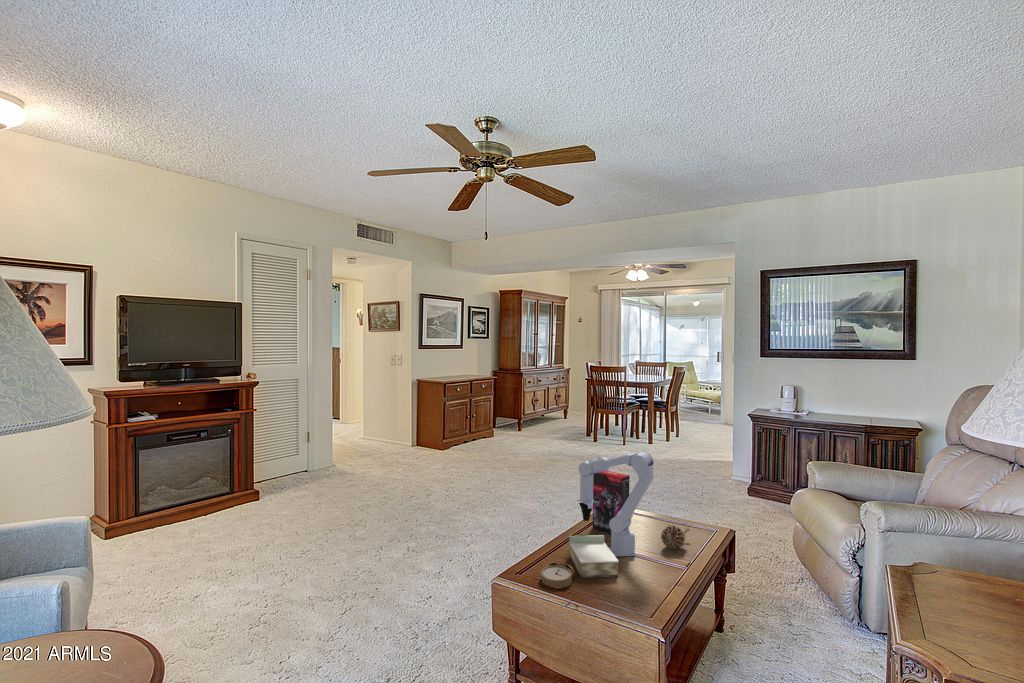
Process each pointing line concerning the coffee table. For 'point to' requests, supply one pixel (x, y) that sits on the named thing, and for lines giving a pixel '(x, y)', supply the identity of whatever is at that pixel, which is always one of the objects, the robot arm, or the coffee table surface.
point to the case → (594, 568)
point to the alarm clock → (557, 575)
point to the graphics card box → (608, 497)
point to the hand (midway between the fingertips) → (586, 520)
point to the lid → (591, 549)
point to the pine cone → (673, 536)
